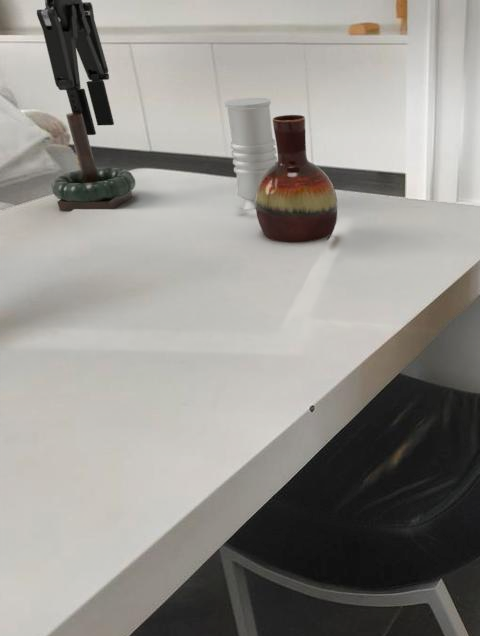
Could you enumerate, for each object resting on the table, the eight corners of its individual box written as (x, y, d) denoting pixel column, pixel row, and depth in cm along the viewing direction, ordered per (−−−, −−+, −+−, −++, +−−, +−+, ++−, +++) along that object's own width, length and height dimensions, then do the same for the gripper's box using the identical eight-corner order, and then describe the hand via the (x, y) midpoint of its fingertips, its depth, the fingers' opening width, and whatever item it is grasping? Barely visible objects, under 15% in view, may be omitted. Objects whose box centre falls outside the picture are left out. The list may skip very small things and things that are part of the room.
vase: (266, 229, 100) (252, 111, 91) (341, 227, 100) (335, 108, 91) (254, 255, 92) (237, 127, 82) (336, 253, 91) (328, 124, 82)
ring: (40, 204, 111) (34, 185, 109) (77, 183, 121) (72, 166, 119) (116, 204, 109) (112, 185, 107) (148, 182, 119) (144, 165, 118)
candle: (287, 201, 112) (277, 97, 103) (273, 213, 107) (261, 105, 98) (248, 199, 114) (235, 97, 105) (232, 211, 108) (216, 105, 99)
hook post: (59, 210, 113) (32, 119, 104) (84, 196, 120) (60, 109, 112) (111, 210, 112) (88, 118, 103) (132, 195, 119) (113, 108, 110)
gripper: (43, -43, 92) (92, 143, 106) (104, -47, 107) (140, 116, 122) (-8, -41, 93) (47, 144, 107) (59, -45, 108) (100, 117, 122)
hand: (96, 129), depth 114 cm, fingers open, 7 cm apart
